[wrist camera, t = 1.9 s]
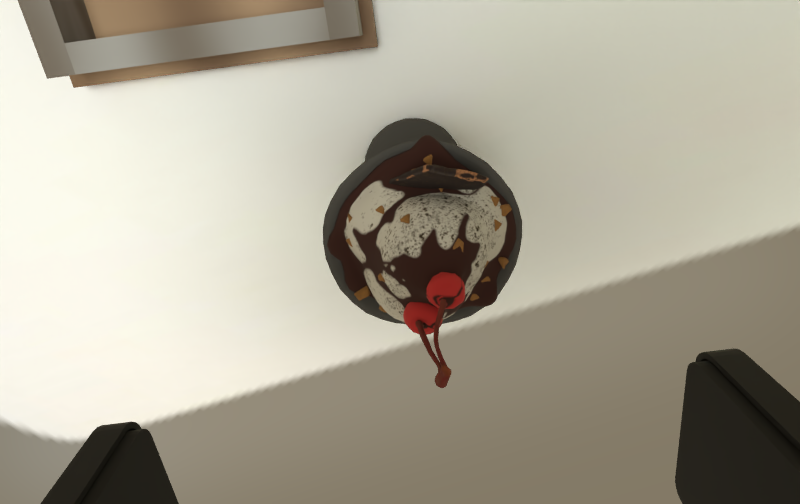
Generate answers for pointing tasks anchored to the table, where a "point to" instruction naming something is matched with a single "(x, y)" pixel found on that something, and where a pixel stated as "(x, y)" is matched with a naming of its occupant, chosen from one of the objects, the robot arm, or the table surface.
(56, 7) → the stand
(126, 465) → the robot arm
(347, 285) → the sundae
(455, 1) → the table surface
